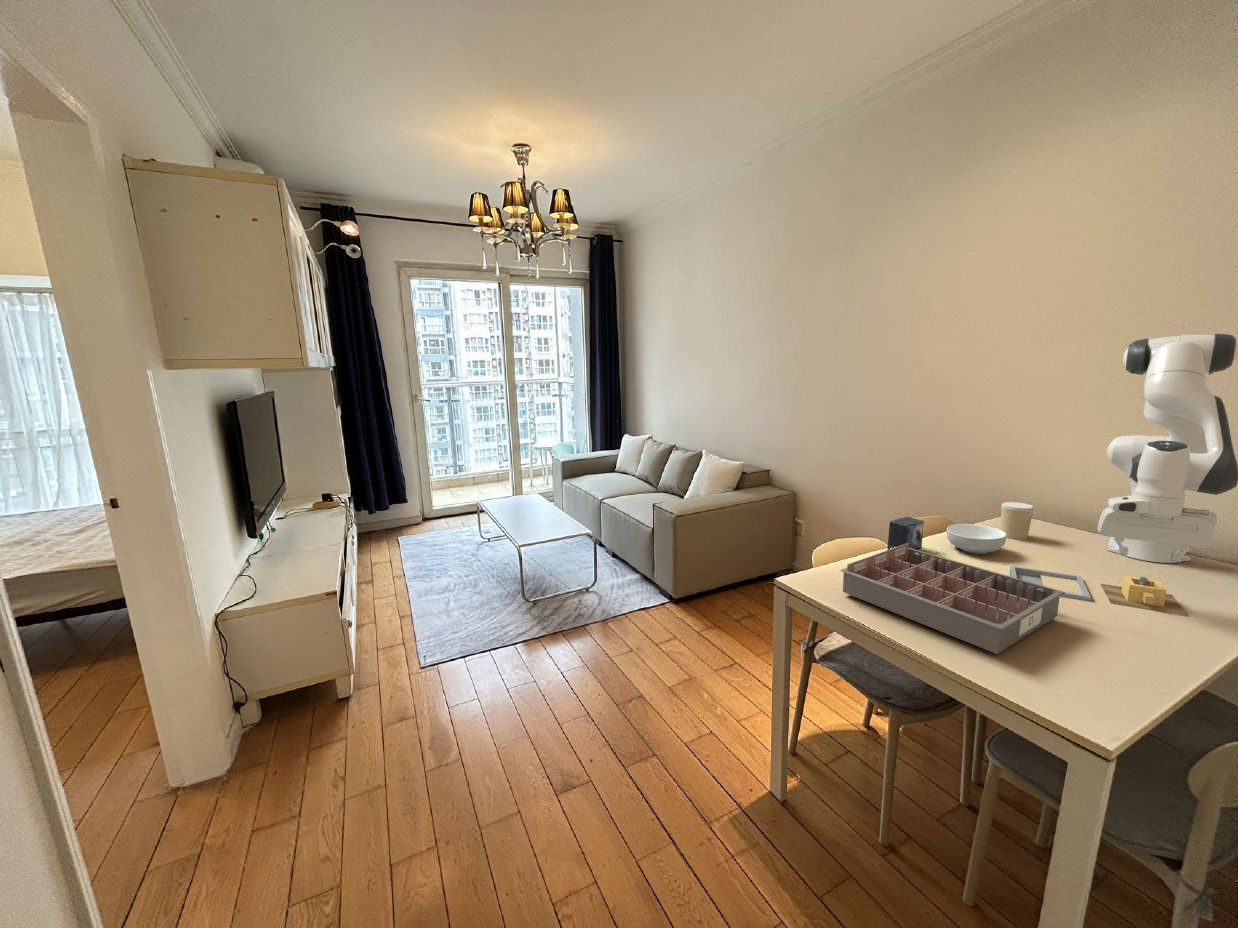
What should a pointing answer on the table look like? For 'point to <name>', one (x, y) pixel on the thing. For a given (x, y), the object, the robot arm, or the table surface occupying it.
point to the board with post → (1119, 599)
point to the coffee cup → (1016, 519)
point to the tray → (1035, 577)
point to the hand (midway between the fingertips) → (1148, 557)
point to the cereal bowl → (976, 538)
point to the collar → (1143, 591)
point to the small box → (905, 533)
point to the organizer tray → (952, 596)
